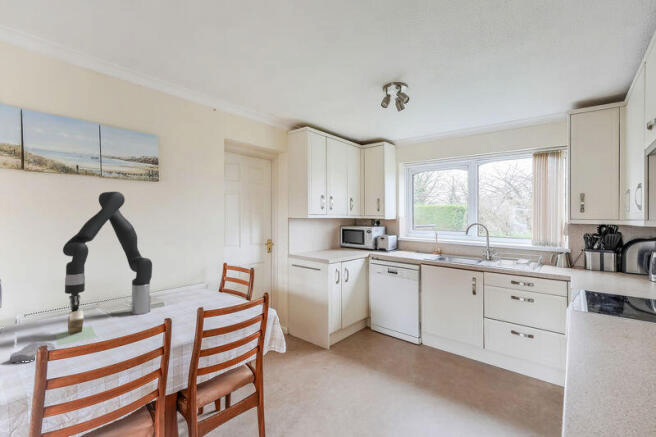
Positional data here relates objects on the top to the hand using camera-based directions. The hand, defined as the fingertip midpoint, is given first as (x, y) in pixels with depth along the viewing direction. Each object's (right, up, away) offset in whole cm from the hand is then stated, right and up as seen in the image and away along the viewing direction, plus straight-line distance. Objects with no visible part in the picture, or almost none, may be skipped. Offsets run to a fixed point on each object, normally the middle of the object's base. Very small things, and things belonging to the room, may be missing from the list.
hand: (74, 317), depth 149 cm
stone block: (+3, -9, -23) cm, 25 cm away
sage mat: (+3, -8, -3) cm, 9 cm away
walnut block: (0, -6, 0) cm, 6 cm away
